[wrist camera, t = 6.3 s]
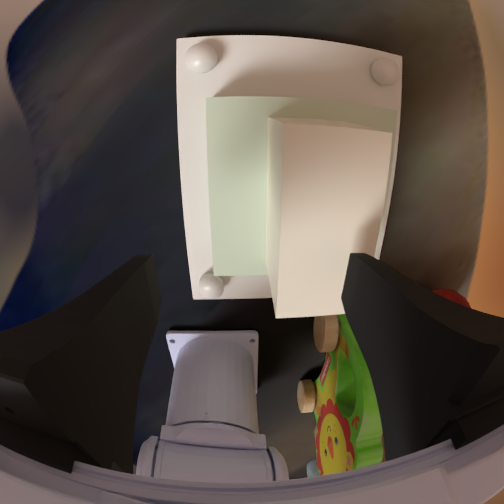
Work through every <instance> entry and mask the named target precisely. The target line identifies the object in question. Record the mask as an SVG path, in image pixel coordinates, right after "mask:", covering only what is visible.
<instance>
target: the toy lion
mask: <svg viewBox="0 0 504 504" xmlns="http://www.w3.org/2000/svg"><path fill="white" fill-rule="evenodd" d="M313 331H314V342H315V346H316V348H317V350H318V351H319V352H327V353H326V358H325V362H324V366H323V369H322V371H321V373H320V376H319V377H318V378H317V379H316V380H315V381H314V382H312V380H311V379H307V380H300V381H299V383H298V390H297V399H298V405H299V409H300V411H301V412H302V413H306V412H312V411H314V414H315V418H316V424H317V432H316V436H315V442H316V450H317V453H316V460H317V467H318V470H319V474H320V476H322V475H328V474H334V473H339V472H344V471H349V470H354V469H358V468H363V467H367V466H371V465H375V464H379V463H381V462H382V458H383V446H382V441H381V438H382V433H383V431H382V425H381V419H380V413H379V408H378V404H377V399H376V395H375V391H374V387H373V383H372V380H371V376H370V373H369V370H368V367H367V364H366V362H365V360H364V357H363V355H362V353H361V350H360V348H359V346H358V343H357V341H356V339H355V337H354V334H353V332H352V330H351V327H350V325H349V323H348V320H347V318H346V314H338V315H325V316H315V318H314V327H313Z"/></svg>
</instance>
